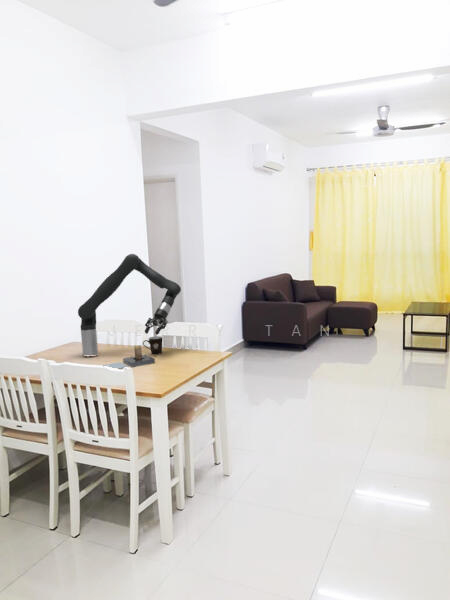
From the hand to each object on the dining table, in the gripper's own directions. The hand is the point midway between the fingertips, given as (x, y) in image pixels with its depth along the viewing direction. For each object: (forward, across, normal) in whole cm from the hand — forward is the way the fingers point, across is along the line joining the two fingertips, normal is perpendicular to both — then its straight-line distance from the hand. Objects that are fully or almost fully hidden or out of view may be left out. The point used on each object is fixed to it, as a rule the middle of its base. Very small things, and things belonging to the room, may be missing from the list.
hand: (151, 333), depth 291 cm
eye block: (+19, 0, +2) cm, 19 cm away
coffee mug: (+3, -9, +18) cm, 21 cm away
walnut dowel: (+19, 0, +2) cm, 19 cm away
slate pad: (+28, -6, -7) cm, 29 cm away
